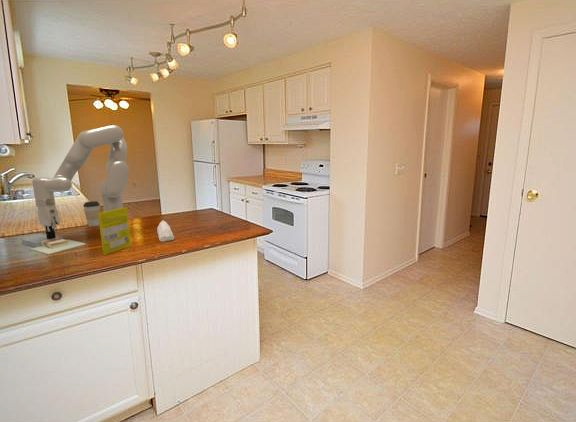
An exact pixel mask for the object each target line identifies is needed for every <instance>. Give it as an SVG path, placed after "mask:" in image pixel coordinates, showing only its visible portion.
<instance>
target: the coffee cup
mask: <svg viewBox="0 0 576 422" xmlns="http://www.w3.org/2000/svg"><path fill="white" fill-rule="evenodd" d="M100 205H101V204H100V203H99V201H98V200H96V201H94V200H93V201H87V202H86V201H85V202H84V203H83V209H84V210H83V211H84V217H85V219H86V223H87V226H89V227H96V226H99V218H98V213H101V206H100Z"/></svg>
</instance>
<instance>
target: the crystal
mask: <svg viewBox="0 0 576 422" xmlns="http://www.w3.org/2000/svg"><path fill="white" fill-rule="evenodd" d="M156 231H157V232H156V233H157V237H158V239H159V242H163V243H164V242H171V240H172V241H173V240H175V236H174V233H173V232H172V229H171V227H170V225H169V224H168V223H167V221H165V220H161V222H159V224H158V226H157V230H156Z"/></svg>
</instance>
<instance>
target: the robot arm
mask: <svg viewBox="0 0 576 422" xmlns="http://www.w3.org/2000/svg"><path fill="white" fill-rule="evenodd" d="M108 144H109V152H108V157H107V162H106V165H105V171H106V174H107V177H106V179H104V180H103V181H102V182H100V183H101V184H100V188H99V190H100V195H101V199H102V207H103V212H105V211H110V210H115V209H119V208H124V203H123V198H122V196H123V195H124V193H125V191H126V188H127V184H128V179H129V174H130V168H129V165H128V164H127V161H126V160H127V156H128V144H127V141H126V139H125V138H124V131H123V129H122V128H121V127H120V126H119V125H115V124H111V125H110V124H109V125H107V126H102V127H98V128H93V129H88V130H87V129H86V130H83V131H81V132H80V133H79V134H78V135H77V137H76V139H75V141H74V142H73V144H72V146H71V148H70V149H69V150H68V152H67V154H66V156H64V157H65V158H64V159H63V161H62V162H61V164H60V166H59V168H58V169H57V171H56V173H55V174H54V176H53V177H52V178H51V177H46V176H45V177H35V178H33V179H32V180H31V184H32V190H33V194H34V195H33V196H34V201H35V206H36V207H37V216H38V217H37V218H38V222H39V224H40V225H42V226H43V227H44V231H45V234H46V236H47V239H53V238H56V236H55V235H56V228H57V225H60V224H61V222H60V217H59V213H58V209H57V207H56V200H55V193H54V192H56V193H57V192H59V193H64V192H68V191H69V190H71V189H72V186H73V185H72V184H73V183H72V181H73V178H74V177H75V175H76V173H77V172H78V171H79V170H80V169H81V168H83V166H84V165H85V164H86V163H87V161H88V159H89V158H90V156H91V154H92V152H93V150H94V149H95V148H97V147H101V146H106V145H108Z"/></svg>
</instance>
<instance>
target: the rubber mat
mask: <svg viewBox="0 0 576 422" xmlns="http://www.w3.org/2000/svg"><path fill="white" fill-rule="evenodd" d="M67 240H68V245H66V246H62V247H58V248H54V249H51V248H47V247H44V246H39V247H32V248H30V250H31V251H35V252H39V253H42V254H45V255H53V254H56V253H59V252H63V251H67V250H70V249H71V250H72V249H75V248H78V247H82V246H87V243H84V242H80V241H76V240H73V239H67Z"/></svg>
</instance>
